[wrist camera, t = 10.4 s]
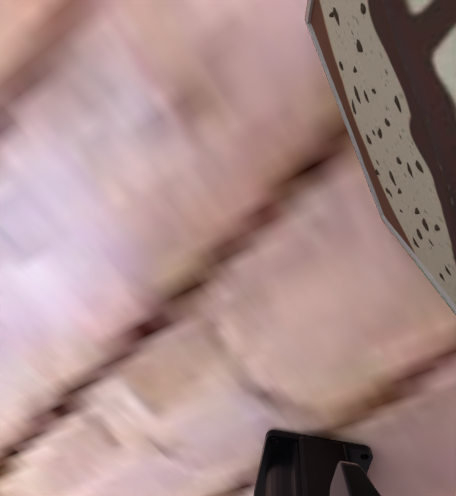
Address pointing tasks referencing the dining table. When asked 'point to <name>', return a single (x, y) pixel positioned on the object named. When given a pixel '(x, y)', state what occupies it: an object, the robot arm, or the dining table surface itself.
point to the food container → (399, 115)
